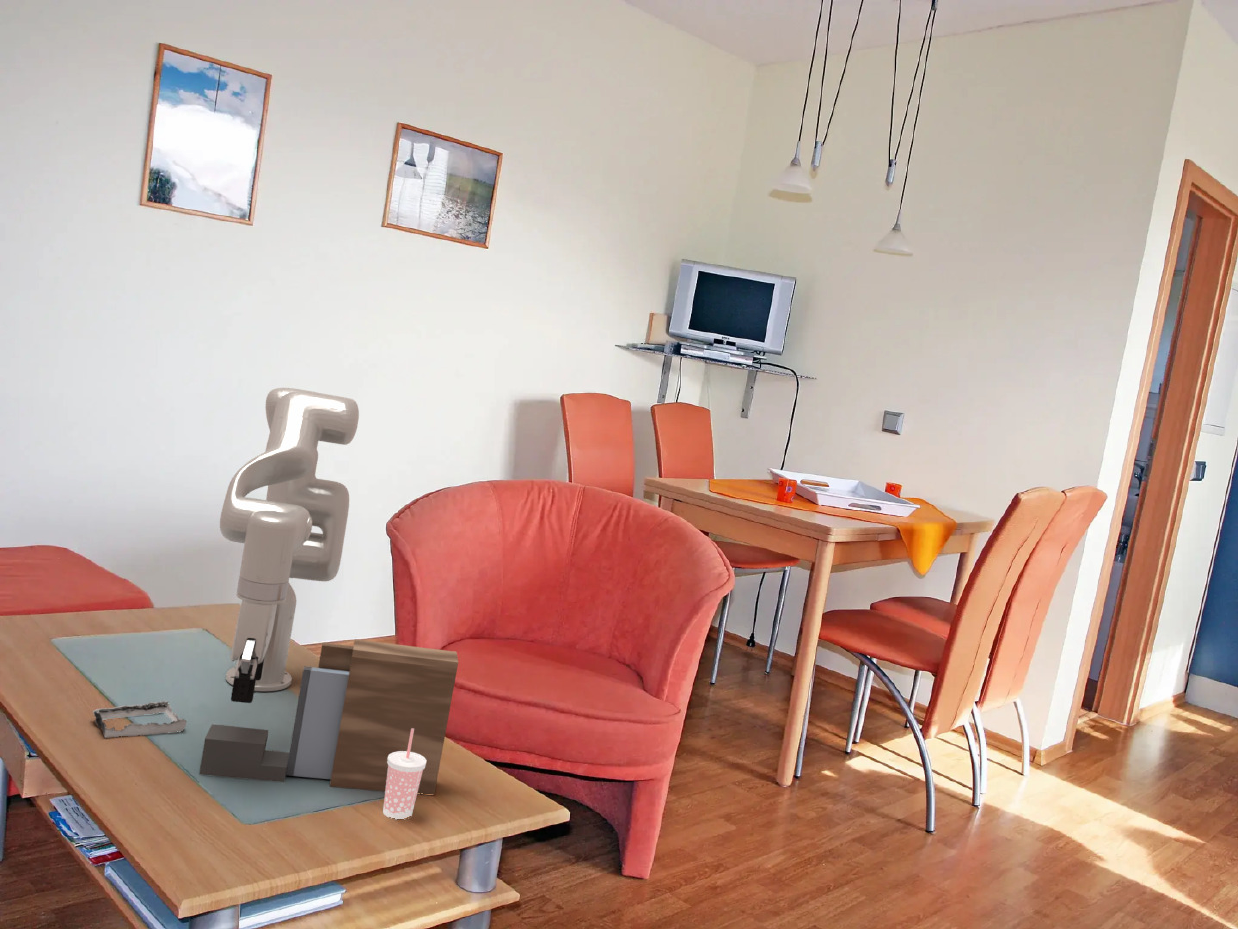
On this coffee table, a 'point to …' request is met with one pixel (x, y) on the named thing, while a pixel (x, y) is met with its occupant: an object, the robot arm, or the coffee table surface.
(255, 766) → the grey stepped block
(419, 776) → the beverage cup
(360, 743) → the door wall
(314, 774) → the sliding door
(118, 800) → the coffee table surface
